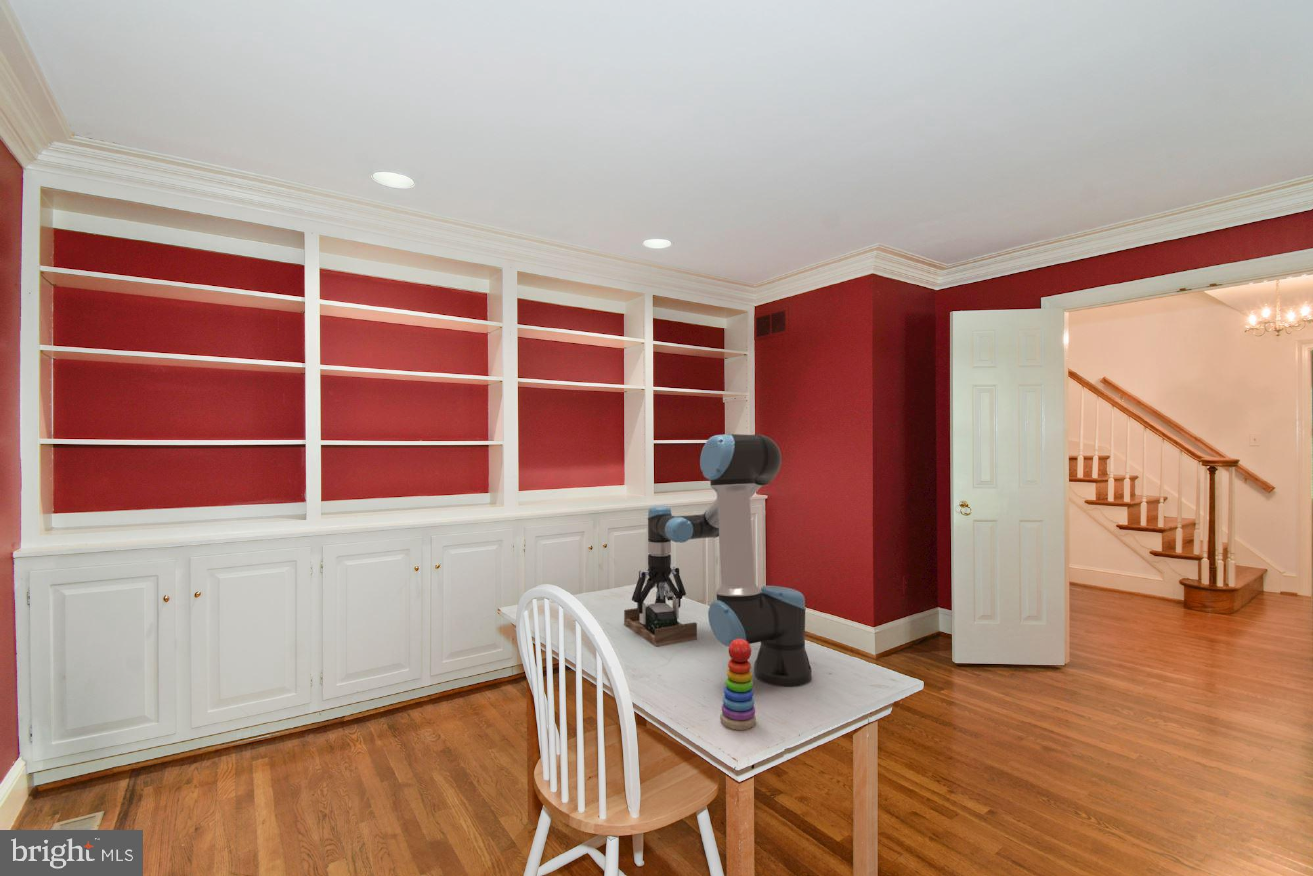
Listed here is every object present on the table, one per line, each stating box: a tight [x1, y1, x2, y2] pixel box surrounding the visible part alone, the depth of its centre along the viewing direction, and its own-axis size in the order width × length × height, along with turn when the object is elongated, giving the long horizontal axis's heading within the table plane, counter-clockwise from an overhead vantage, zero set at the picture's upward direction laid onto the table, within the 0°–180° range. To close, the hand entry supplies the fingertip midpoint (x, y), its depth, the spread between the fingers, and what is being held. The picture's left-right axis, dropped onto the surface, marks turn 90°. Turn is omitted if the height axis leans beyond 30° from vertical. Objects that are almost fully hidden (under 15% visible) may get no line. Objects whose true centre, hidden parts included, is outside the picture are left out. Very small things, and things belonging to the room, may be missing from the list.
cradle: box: [623, 606, 698, 647], centre depth 193 cm, size 23×14×5 cm, turn 28°
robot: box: [651, 581, 675, 604], centre depth 214 cm, size 20×5×20 cm, turn 26°
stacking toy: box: [719, 639, 757, 731], centre depth 132 cm, size 8×8×19 cm
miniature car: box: [640, 602, 679, 635], centre depth 193 cm, size 9×18×8 cm, turn 18°
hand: (659, 620), depth 193 cm, fingers open, 11 cm apart
